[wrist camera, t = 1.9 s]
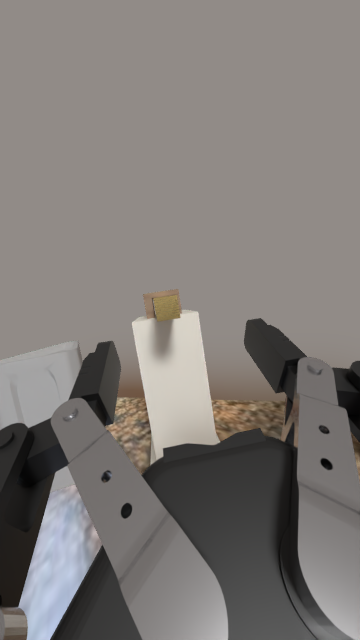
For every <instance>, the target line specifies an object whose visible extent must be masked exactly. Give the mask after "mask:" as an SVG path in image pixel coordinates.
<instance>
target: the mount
mask: <svg viewBox="0 0 360 640" xmlns="http://www.w3.org/2000/svg"><path fill="white" fill-rule="evenodd" d="M172 295H177V298H178V305H179V311H180V318H177V319H171V320H165V321H159V322H157V317H156V314H155V311H154V306H153V298H159V297H165V296H172ZM143 297H144V303H145V309H146V314H147V316H143V317H139V318H137V319H136V320H135V321H133V322H132V327H133V332H134V337H135V343H136V349H137V355H138V360H139V366H140V371H141V376H142V382H143V388H144V393H145V399H146V405H147V410H148V416H149V421H150V427H151V432H152V435H151V464H153V463H154V462H155V461H157V460H158V459H159V458H161V457H163V448H167V447H172V446H176V445H181V444H186V443H192V444H205V445H216V444H218V443H220V441H219V438H218V436H217V434H216V432H215V425H214V418H213V411H212V404H211V397H210V391H209V384H208V377H207V370H206V363H205V356H204V349H203V342H202V336H201V329H200V323H199V315H198V312H196V311H190V310H181V304H180V298H179V291H178V289H175V290H168V291H161V292H155V293H148V294H143ZM151 464H150V465H151Z"/></svg>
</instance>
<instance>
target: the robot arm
mask: <svg viewBox="0 0 360 640" xmlns="http://www.w3.org/2000/svg"><path fill="white" fill-rule="evenodd" d="M244 344H245V348H246V350H247V351H248V353H249V354H250V356H251V357H252V359H253V360H254V362H255V363H256V365H257V366H258V368H259V369H260V371H261V372H262V373H263V375H264V376H265V378H266V379H267V381H268V382H269V384H270V385H271V387H272V388H273V390H274V391H275V393H280V392H285V393H286V395H287V396H286V400H285V410H284V420H283V429H282V435H281V439H280V440H279V439H276V438H273V437H268V436H264V435H263V433H262V431H261V429H260V428H258V429H253V430H249V431H244V432H239V433H236V434H234V435H232V436H231V437H229V438H227V439H225V440H223V441H221V442H220V443H218V444H216V445H205V444H192V443H186V444H181V445H176V446H172V447H167V448H163V457H161V458H159V459H158V460H157V461H155V462H154V463H153V464H151V465H150V466H149V467H148V468H147V469H146V470H145V472H144V473H143V474H142V475H141V474H140V473H139V472H138V470H137V469H136V467H135V466H134V465H133V463H132V462H131V461H130V459H129V458H128V456H127V455H126V454H125V452H124V451H123V450H122V448H121V447H120V445H119V444H118V443H117V441H116V440H115V438H114V437H113V436H112V434H111V433H110V432H109V431H108V430H106V428H105V426H106V425H110V424H113V421H114V414H115V407H116V400H117V393H118V386H119V379H120V372H121V366H120V360H119V357H118V354H117V351H116V348H115V345H114V342H113V341H108V342H101V343H98V345H97V348H96V351H95V352H94V353H90V354H89V355H88V356H87V357H86V358H85V359H84V360H83V363H82V366H81V369H80V371H79V373H78V376H77V379H76V381H75V384H74V386H73V389H72V392H71V394H70V397H69V400H68V401H66V402H64V403H63V404H61V405H60V406H59V407H58V408H57V409H56V410H55V412H54V413H53V415H52V417H51V418H49V419H47V420H45V421H43V422H41V423H38V424H36V425H34V426H32V427H29V428H28V427H27V426H26V425H25V424H23V423H14V424H11V425H8V426H6V427H5V428H3V429H1V430H0V640H26V639H27V629H28V626H27V618H26V615H25V613H24V611H23V610H22V609H20V608H18V606H19V602H20V599H21V595H22V591H23V588H24V584H25V581H26V577H27V573H28V570H29V566H30V563H31V559H32V555H33V552H34V548H35V545H36V541H37V537H38V534H39V530H40V527H41V523H42V519H43V516H44V512H45V509H46V505H47V501H48V498H49V494H50V491H51V487H52V483H53V480H54V476H55V473H56V472H57V471H59V470H60V469H62V468H64V467H66V466H68V469H69V471H70V474H71V476H72V478H73V480H74V483H75V485H76V487H77V489H78V491H79V494H80V496H81V498H82V500H83V502H84V505H85V507H86V509H87V511H88V513H89V516H90V518H91V520H92V522H93V524H94V527H95V529H96V531H97V533H98V535H99V538H100V540H101V542H102V544H103V545H102V546H101V548H100V550H99V552H98V554H97V555H96V557H95V559H94V561H93V563H92V565H91V566H90V568H89V570H88V572H87V574H86V575H85V577H84V579H83V581H82V583H81V584H80V586H79V588H78V590H77V592H76V594H75V595H74V597H73V599H72V601H71V603H70V604H69V606H68V608H67V610H66V612H65V614H64V615H63V617H62V619H61V621H60V623H59V624H58V626H57V628H56V630H55V632H54V634H53V635H52V637H51V639H50V640H360V483H359V477H358V471H357V466H356V460H355V454H354V449H353V443H352V437H351V432H352V434H353V435H354V436H355V437H356V438H357V440H358V441H359V442H360V361H356V362H353V363H352V365H351V367H350V369H342V368H331V367H330V366H329V365H328V364H327V363H325V362H323V361H322V360H319V359H317V358H312V357H307V356H306V355H305V354H304V353H303V352H302V351H301V350H300V349H299V348H298V347H297V346H296V345H294V344H293V343H292V342H291V341H289V339H288V338H287V337H286V336H284V334H283V333H282V332H281V331H280V330H279V329H277V328H275V327H273V326H271V325H267V324H266V323H265V322H264V321H263V320H262V319H261V318H259V319H253V320H248V321H247V323H246V330H245V338H244ZM350 431H351V432H350Z"/></svg>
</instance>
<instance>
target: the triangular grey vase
mask: <svg viewBox="0 0 360 640" xmlns="http://www.w3.org/2000/svg"><path fill="white" fill-rule="evenodd" d="M82 363H83V362H82V357H81V352H80V347H79V342H78V341H71V342H65V343H61V344H57V345H54V346H50V347H46V348H43V349H39V350H35V351H32V352H28V353H24V354H21V355H17V356H13V357H10V358H6V359H2V360H0V430H1V429H3V428H5V427H6V426H8V425H11V424H14V423H23V424H25V425H26V426H27V427H28V428H29V427H32V426H34V425H36V424H38V423H41V422H43V421H45V420H47V419H49V418H51V417H52V415H53V413H54V412H55V410H56V409H57V408H58V407H59V406H60V405H61V404H63V403H64V402H66V401H68V400H69V397H70V394H71V392H72V389H73V386H74V384H75V381H76V379H77V376H78V373H79V371H80V369H81V366H82ZM72 485H75V483H74V480H73V478H72V476H71V474H70V471H69V469H68V466H66V467H64V468H62V469H60V470H59V471H57V472H56V473H55V476H54V480H53V483H52V487H51V491H50V493H52V492H55V491H58V490H60V489H63V488H66V487H69V486H72Z"/></svg>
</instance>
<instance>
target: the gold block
mask: <svg viewBox="0 0 360 640" xmlns="http://www.w3.org/2000/svg"><path fill="white" fill-rule="evenodd" d="M153 299H154V304H155V311H156V317H157V322H159V321H165V320H171V319H177V318H180V311H179V305H178V298H177V295H172V296H165V297H159V298H153Z"/></svg>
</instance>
